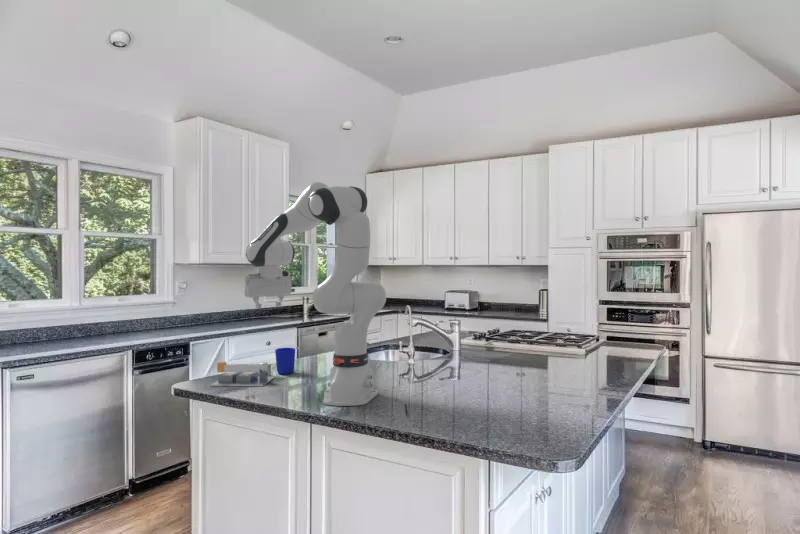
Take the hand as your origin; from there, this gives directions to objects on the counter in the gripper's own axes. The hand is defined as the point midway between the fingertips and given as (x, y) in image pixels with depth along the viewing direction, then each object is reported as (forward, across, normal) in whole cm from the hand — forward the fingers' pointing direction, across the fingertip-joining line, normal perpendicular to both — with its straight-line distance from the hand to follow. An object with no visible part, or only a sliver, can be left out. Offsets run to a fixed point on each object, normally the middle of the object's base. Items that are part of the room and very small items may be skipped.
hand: (268, 307), depth 206 cm
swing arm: (+24, -11, +1) cm, 27 cm away
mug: (+29, +10, +2) cm, 31 cm away
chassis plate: (+28, -11, +1) cm, 30 cm away
